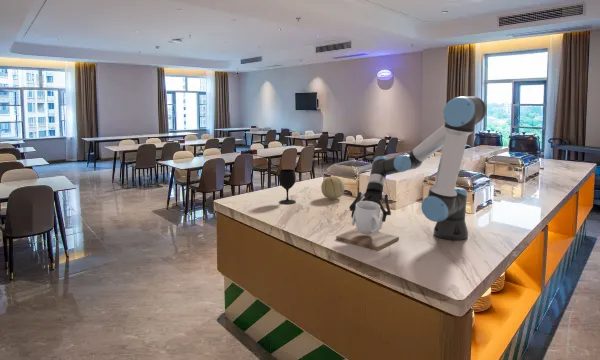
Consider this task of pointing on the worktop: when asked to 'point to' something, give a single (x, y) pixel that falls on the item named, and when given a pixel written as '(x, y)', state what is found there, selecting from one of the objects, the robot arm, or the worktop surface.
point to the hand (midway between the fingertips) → (366, 225)
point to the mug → (367, 217)
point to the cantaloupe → (332, 187)
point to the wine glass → (287, 183)
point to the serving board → (368, 239)
